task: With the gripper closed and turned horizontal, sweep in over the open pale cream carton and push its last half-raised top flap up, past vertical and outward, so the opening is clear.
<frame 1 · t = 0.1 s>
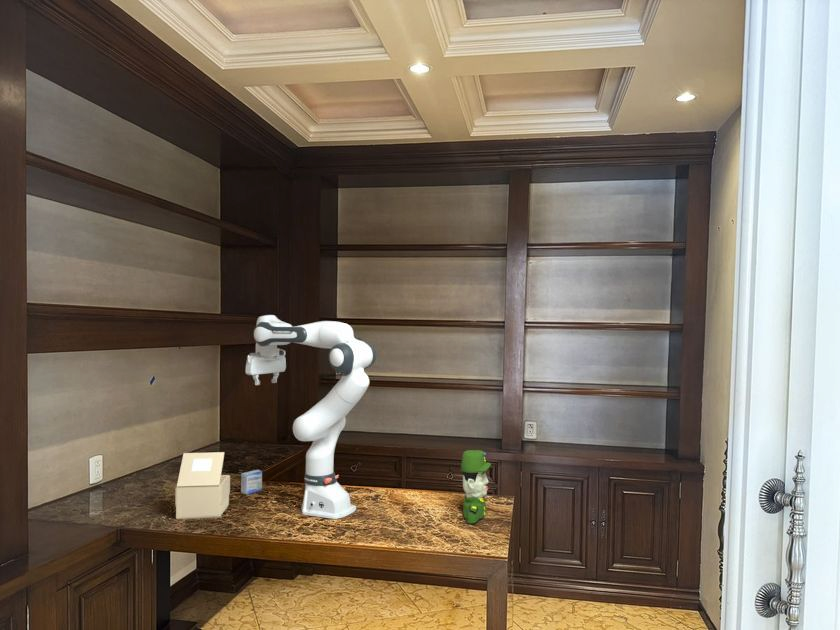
hand: (266, 383, 228), 48 cm above the table, tool pointing down, fingers open, 8 cm apart
carton flap: (201, 469, 203), point 18 cm above the table, hinge at 55.0°
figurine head: (475, 515, 205), on the table
medicine box: (251, 492, 231), on the table
carton: (203, 511, 206), on the table
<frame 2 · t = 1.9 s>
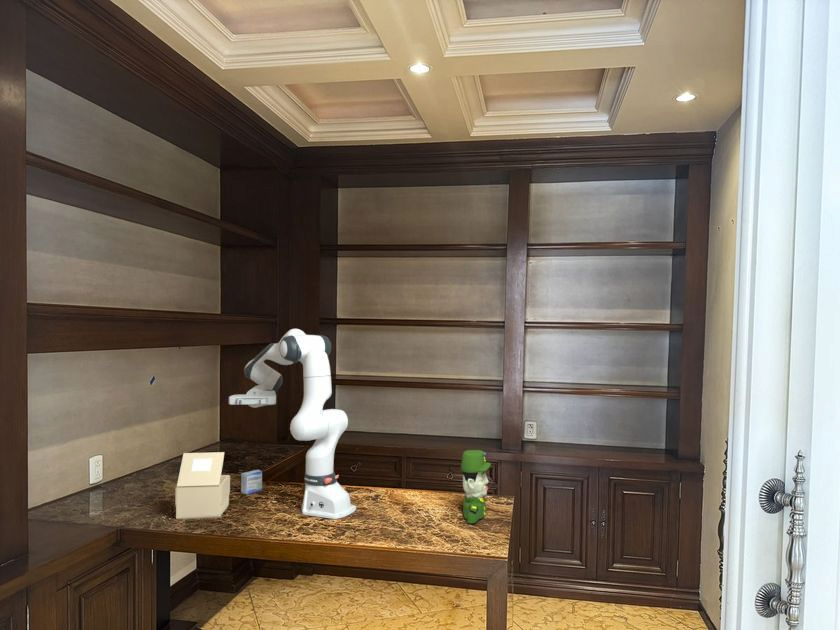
hand: (249, 402, 226), 40 cm above the table, tool horizontal, fingers open, 7 cm apart
nothing on the table moved.
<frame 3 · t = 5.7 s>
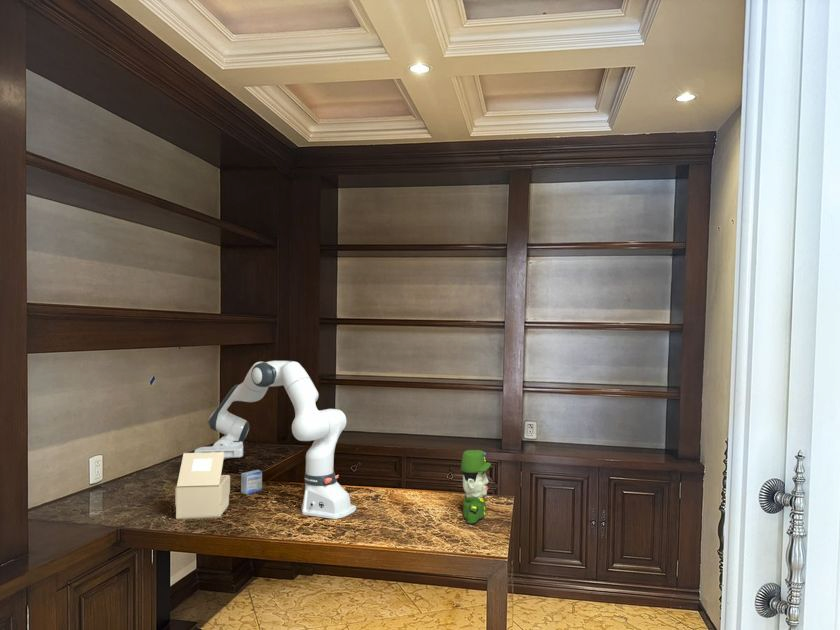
hand: (214, 456, 221), 18 cm above the table, tool horizontal, fingers closed
nothing on the table moved.
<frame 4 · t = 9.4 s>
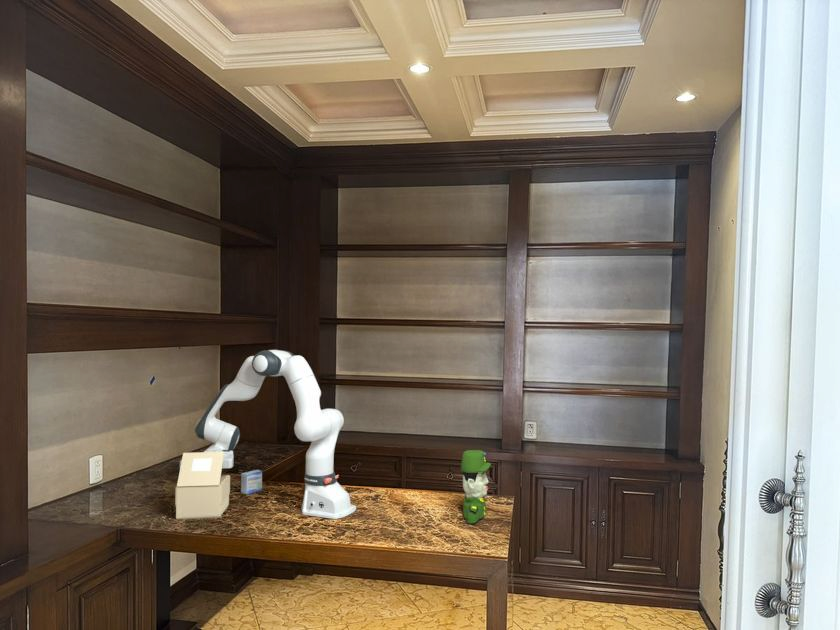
hand: (201, 468, 204), 18 cm above the table, tool horizontal, fingers closed, pressing on carton flap
carton flap: (201, 468, 203), point 18 cm above the table, hinge at 57.0°, touching gripper
everything else where it was.
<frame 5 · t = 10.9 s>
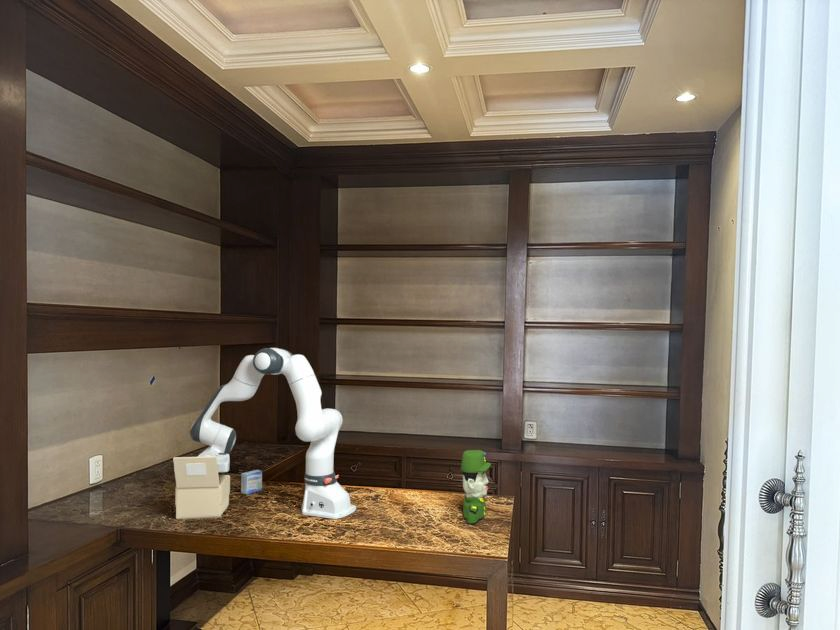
hand: (196, 471, 198), 18 cm above the table, tool horizontal, fingers closed, pressing on carton flap
carton flap: (196, 472, 197), point 18 cm above the table, hinge at 109.7°, touching gripper
everything else where it was.
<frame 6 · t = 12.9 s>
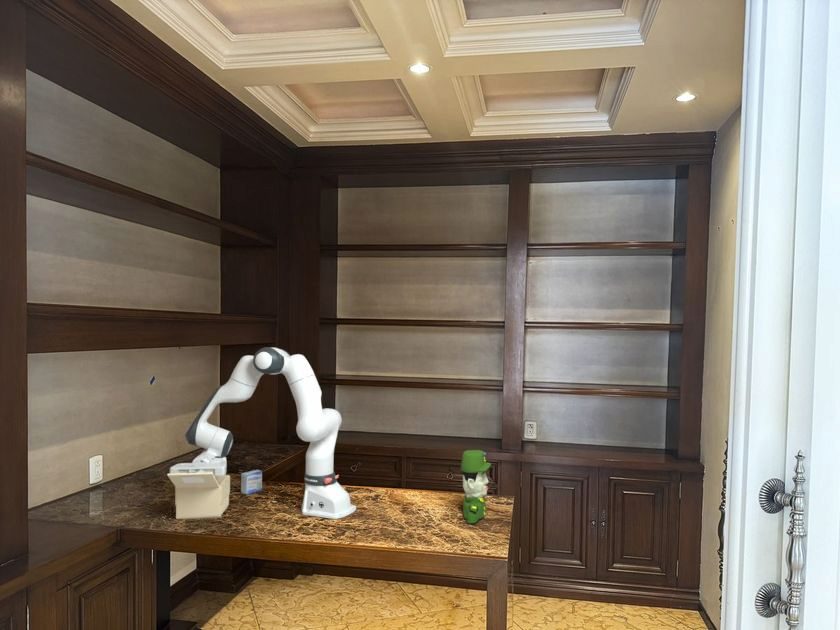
hand: (192, 476, 193), 18 cm above the table, tool horizontal, fingers closed, pressing on carton flap
carton flap: (194, 480, 194), point 16 cm above the table, hinge at 142.4°, touching gripper
everything else where it was.
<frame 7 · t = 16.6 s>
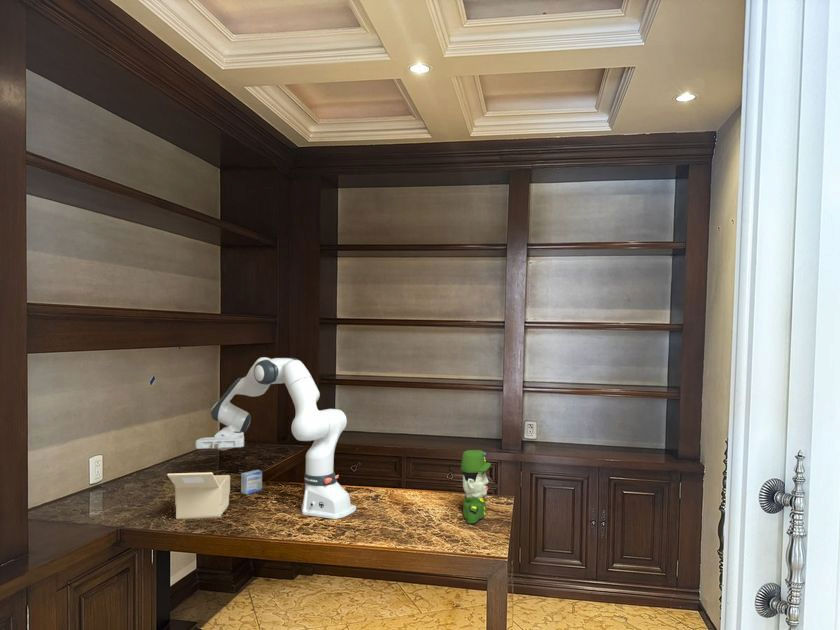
hand: (216, 446, 223), 22 cm above the table, tool horizontal, fingers closed
carton flap: (194, 480, 194), point 16 cm above the table, hinge at 142.4°
everything else where it was.
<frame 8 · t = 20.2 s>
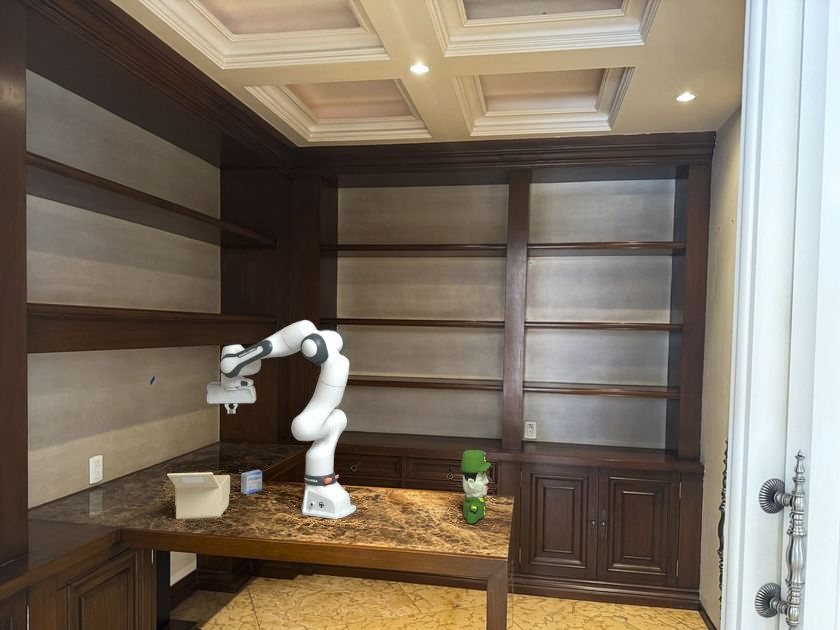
hand: (231, 413, 227), 35 cm above the table, tool pointing down, fingers closed
nothing on the table moved.
at the end: carton flap at +142° (first picture: +55°); medicine box moved 0.3 cm from its start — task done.
